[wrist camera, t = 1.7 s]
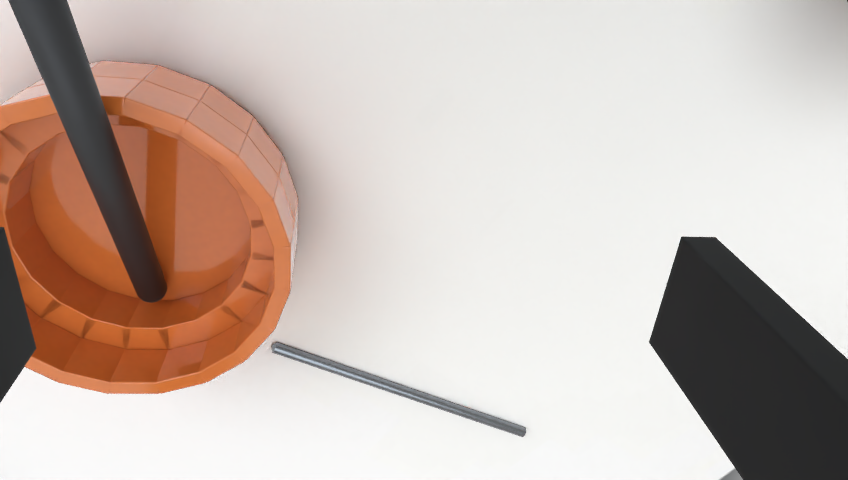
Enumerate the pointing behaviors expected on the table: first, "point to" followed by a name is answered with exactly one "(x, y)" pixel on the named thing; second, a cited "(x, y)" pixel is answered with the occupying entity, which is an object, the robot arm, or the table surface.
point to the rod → (395, 388)
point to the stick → (91, 135)
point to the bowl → (168, 228)
